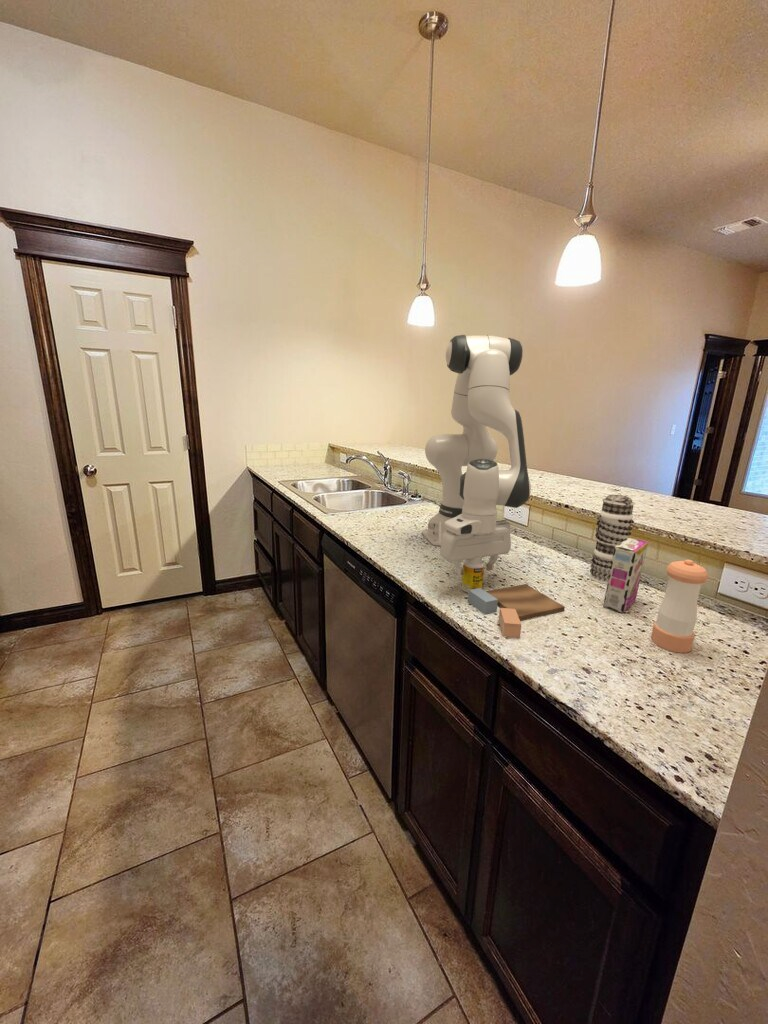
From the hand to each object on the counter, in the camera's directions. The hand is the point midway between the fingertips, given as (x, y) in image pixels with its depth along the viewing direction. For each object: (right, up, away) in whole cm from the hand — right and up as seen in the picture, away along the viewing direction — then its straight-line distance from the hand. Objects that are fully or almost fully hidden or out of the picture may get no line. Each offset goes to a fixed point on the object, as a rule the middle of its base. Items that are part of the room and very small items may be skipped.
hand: (474, 572), depth 110 cm
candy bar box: (+37, -8, -4) cm, 38 cm away
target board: (+11, -7, -5) cm, 14 cm away
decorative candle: (+41, -4, +11) cm, 43 cm away
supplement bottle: (0, -5, +2) cm, 6 cm away
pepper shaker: (+38, -12, -22) cm, 45 cm away
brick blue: (0, -8, -7) cm, 11 cm away
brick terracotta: (+4, -11, -17) cm, 21 cm away
